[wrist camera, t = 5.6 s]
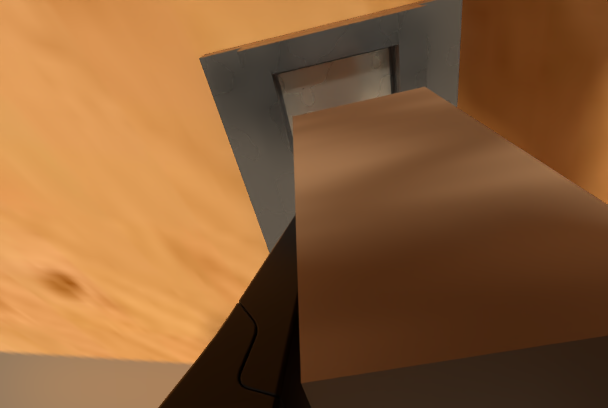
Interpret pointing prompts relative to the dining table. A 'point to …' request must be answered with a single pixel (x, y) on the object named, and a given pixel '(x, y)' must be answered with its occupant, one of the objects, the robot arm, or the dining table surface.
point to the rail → (324, 87)
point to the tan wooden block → (443, 264)
